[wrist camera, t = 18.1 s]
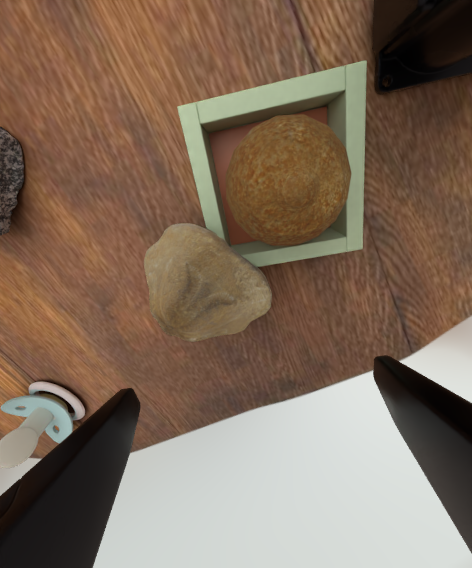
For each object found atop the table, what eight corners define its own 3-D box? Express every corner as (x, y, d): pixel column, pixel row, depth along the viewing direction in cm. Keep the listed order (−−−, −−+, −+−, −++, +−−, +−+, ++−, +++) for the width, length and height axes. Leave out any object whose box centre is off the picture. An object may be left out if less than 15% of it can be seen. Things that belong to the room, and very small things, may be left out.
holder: (339, 85, 15) (367, 59, 12) (341, 236, 19) (362, 249, 15) (190, 120, 16) (176, 106, 12) (221, 257, 20) (217, 274, 16)
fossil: (182, 190, 13) (140, 272, 20) (125, 231, 10) (101, 308, 18) (299, 295, 15) (220, 335, 22) (277, 356, 12) (195, 378, 19)
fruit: (218, 143, 16) (198, 116, 8) (316, 118, 15) (389, 63, 8) (239, 237, 18) (237, 279, 11) (324, 219, 17) (383, 251, 10)
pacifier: (43, 367, 25) (12, 394, 27) (-14, 423, 19) (-50, 453, 21) (100, 406, 27) (68, 429, 29) (64, 466, 22) (26, 491, 23)
